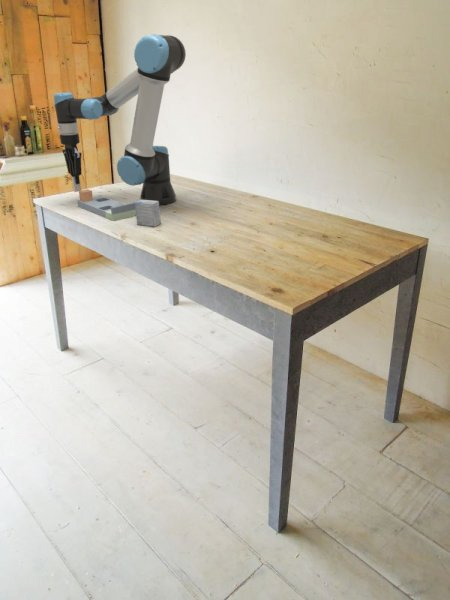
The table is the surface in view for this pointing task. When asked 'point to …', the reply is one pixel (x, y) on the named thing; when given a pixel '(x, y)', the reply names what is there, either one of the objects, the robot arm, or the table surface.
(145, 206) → the medicine box
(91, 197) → the block
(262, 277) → the table surface
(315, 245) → the table surface
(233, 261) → the table surface
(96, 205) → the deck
